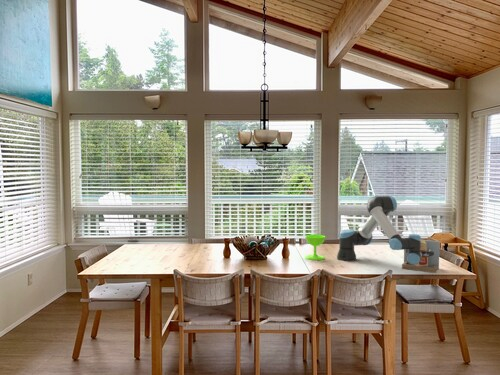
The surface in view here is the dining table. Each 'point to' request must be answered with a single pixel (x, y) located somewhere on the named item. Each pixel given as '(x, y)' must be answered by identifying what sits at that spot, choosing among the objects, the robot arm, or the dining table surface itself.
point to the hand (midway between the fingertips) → (421, 250)
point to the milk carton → (424, 259)
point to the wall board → (432, 260)
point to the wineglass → (315, 241)
